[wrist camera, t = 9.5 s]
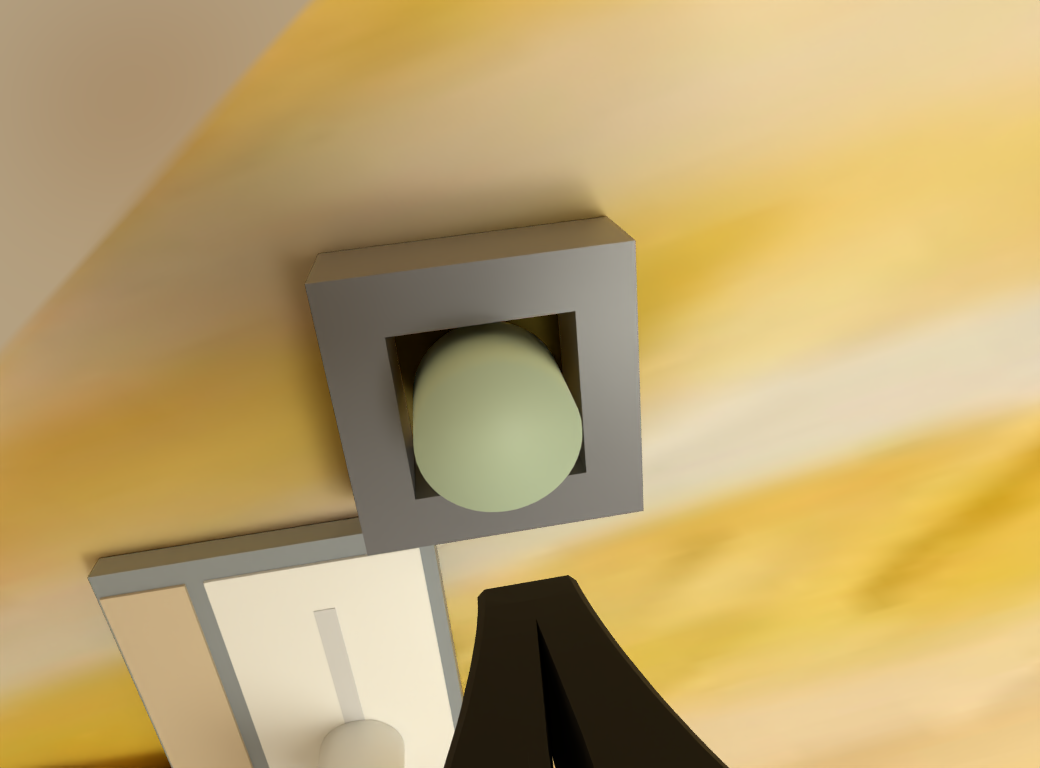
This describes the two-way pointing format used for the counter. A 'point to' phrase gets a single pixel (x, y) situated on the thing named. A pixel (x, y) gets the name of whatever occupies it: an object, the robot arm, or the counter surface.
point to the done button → (493, 418)
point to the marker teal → (362, 746)
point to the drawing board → (284, 645)
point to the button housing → (472, 301)
